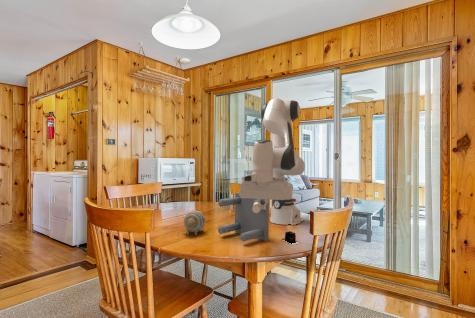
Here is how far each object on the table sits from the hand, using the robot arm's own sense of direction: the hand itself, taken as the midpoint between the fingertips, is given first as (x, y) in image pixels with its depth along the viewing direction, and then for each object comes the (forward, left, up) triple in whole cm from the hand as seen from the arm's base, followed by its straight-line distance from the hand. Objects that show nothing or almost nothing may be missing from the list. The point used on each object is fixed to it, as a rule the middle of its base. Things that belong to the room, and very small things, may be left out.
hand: (262, 209), depth 116 cm
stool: (-3, -15, -16) cm, 22 cm away
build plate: (-16, +3, -17) cm, 24 cm away
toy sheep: (+8, -37, -17) cm, 41 cm away
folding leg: (-2, -5, -2) cm, 5 cm away
